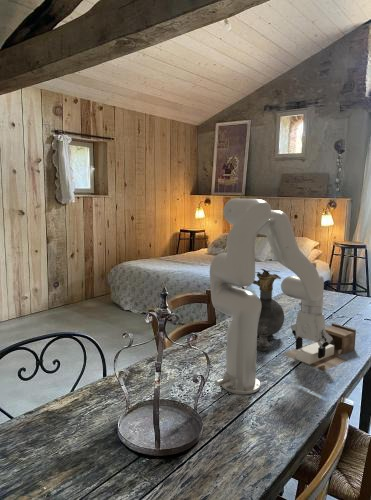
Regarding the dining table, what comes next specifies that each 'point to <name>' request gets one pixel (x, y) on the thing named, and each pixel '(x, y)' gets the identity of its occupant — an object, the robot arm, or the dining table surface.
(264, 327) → the salt shaker
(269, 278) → the pitcher
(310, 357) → the soap bar
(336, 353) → the open wooden box
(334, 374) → the dining table surface
